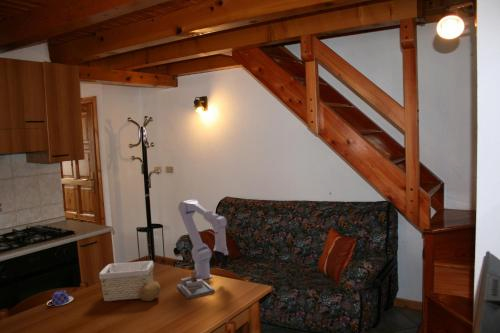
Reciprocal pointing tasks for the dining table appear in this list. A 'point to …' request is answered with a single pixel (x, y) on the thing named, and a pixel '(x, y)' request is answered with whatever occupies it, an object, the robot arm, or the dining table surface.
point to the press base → (194, 288)
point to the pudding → (60, 298)
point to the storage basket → (125, 279)
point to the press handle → (194, 280)
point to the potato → (149, 291)
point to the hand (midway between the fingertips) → (222, 265)
